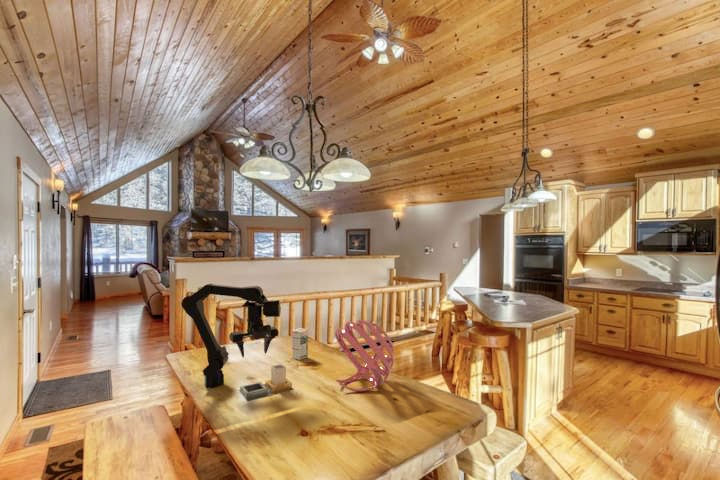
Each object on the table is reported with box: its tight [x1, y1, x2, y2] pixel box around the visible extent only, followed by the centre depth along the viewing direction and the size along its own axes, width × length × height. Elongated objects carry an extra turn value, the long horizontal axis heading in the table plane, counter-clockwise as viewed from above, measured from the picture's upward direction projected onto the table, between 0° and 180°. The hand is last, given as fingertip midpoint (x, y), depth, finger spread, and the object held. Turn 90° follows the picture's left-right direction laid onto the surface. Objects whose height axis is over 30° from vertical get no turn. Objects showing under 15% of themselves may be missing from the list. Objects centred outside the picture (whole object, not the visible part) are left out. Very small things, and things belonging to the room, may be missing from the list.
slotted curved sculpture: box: [334, 319, 395, 393], centre depth 142 cm, size 28×28×27 cm
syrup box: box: [291, 327, 309, 361], centre depth 178 cm, size 6×6×14 cm
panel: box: [238, 378, 294, 402], centre depth 135 cm, size 18×12×3 cm, turn 125°
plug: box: [270, 363, 287, 386], centre depth 138 cm, size 4×4×8 cm
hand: (254, 355), depth 142 cm, fingers open, 9 cm apart
